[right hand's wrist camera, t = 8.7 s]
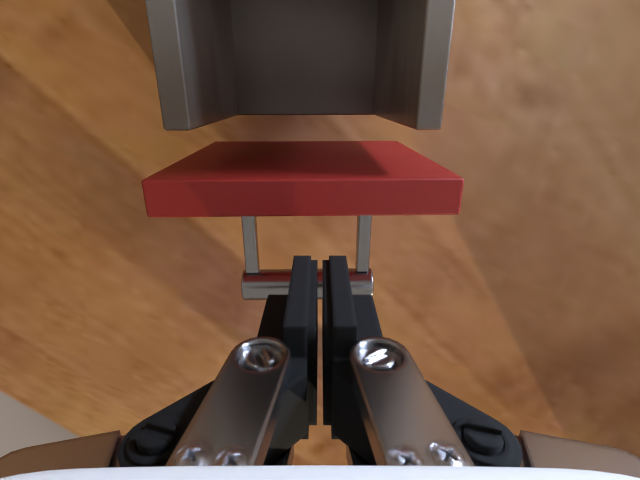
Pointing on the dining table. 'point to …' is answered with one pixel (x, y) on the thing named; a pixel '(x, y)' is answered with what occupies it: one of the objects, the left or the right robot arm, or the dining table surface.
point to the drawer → (301, 99)
